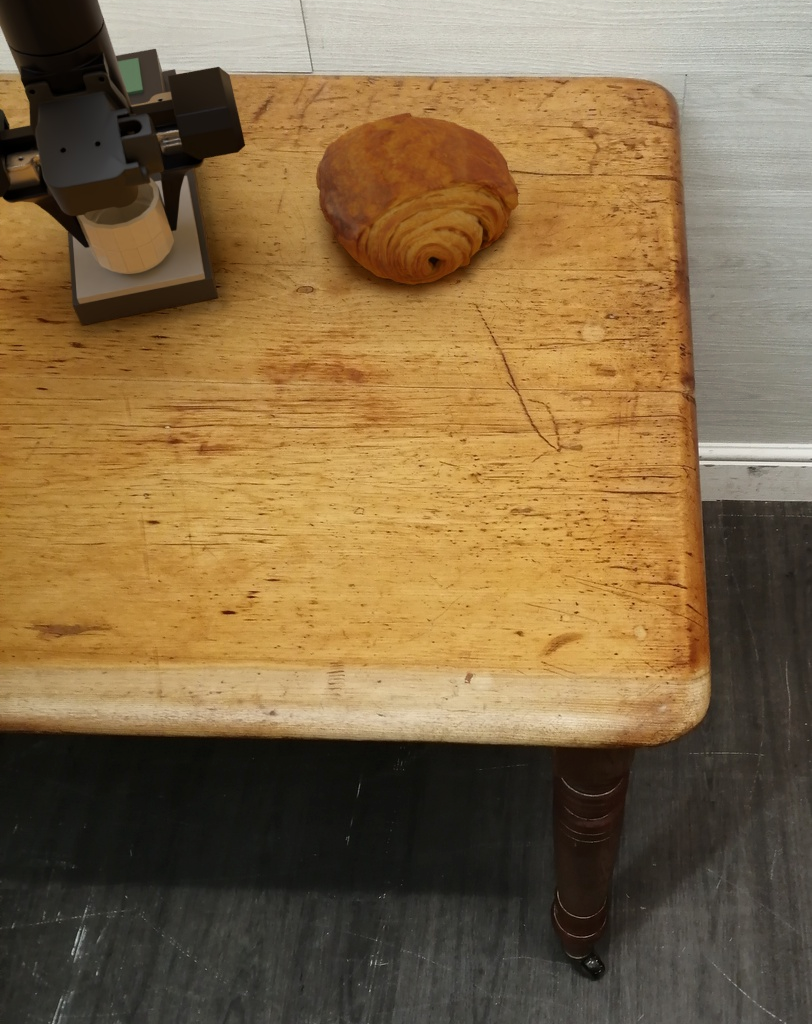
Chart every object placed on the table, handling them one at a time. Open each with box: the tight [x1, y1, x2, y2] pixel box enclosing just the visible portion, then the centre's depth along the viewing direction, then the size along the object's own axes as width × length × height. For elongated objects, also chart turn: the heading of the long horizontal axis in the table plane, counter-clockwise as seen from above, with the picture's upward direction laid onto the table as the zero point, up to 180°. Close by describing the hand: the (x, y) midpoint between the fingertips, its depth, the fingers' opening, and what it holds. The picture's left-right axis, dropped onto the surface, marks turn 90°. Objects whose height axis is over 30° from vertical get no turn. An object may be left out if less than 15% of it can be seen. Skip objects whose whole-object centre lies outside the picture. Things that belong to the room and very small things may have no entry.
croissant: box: [315, 112, 520, 285], centre depth 73 cm, size 14×16×8 cm
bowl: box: [76, 178, 174, 274], centre depth 69 cm, size 6×6×4 cm
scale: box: [67, 48, 219, 326], centre depth 77 cm, size 10×26×5 cm, turn 13°
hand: (130, 235), depth 71 cm, fingers closed on bowl, 6 cm apart
